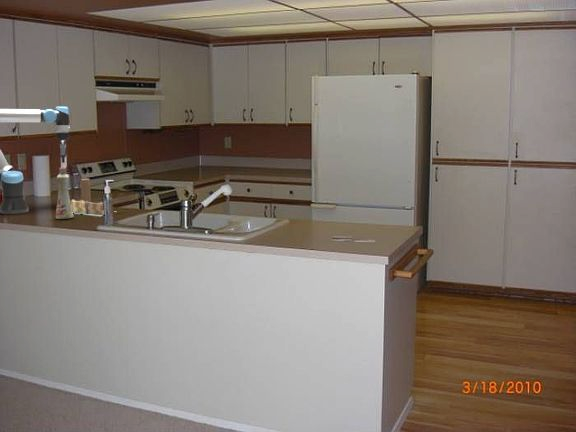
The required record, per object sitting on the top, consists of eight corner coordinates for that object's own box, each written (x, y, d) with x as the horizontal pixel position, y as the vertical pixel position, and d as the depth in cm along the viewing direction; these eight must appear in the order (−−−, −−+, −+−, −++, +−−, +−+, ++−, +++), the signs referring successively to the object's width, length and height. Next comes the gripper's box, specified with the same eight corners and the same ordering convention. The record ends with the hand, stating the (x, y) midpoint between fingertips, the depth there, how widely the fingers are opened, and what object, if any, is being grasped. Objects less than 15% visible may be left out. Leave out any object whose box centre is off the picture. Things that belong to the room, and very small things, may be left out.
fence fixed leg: (104, 215, 383) (104, 202, 382) (102, 216, 381) (101, 202, 380) (87, 214, 391) (87, 200, 390) (85, 214, 389) (84, 201, 388)
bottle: (73, 219, 372) (70, 167, 368) (55, 220, 369) (52, 167, 365) (73, 217, 380) (71, 165, 376) (56, 217, 377) (53, 166, 373)
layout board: (100, 216, 380) (100, 216, 380) (67, 213, 395) (67, 212, 395) (124, 213, 394) (124, 212, 393) (91, 209, 409) (91, 208, 409)
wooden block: (74, 210, 409) (72, 179, 406) (75, 209, 413) (74, 178, 410) (90, 209, 410) (88, 179, 407) (91, 208, 414) (89, 178, 412)
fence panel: (87, 212, 391) (86, 200, 390) (85, 212, 390) (84, 200, 389) (73, 211, 397) (72, 199, 396) (71, 211, 396) (70, 199, 395)
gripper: (68, 132, 409) (69, 168, 412) (70, 132, 433) (71, 166, 436) (55, 132, 407) (56, 168, 410) (57, 132, 431) (58, 166, 434)
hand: (63, 167), depth 423 cm, fingers open, 13 cm apart
